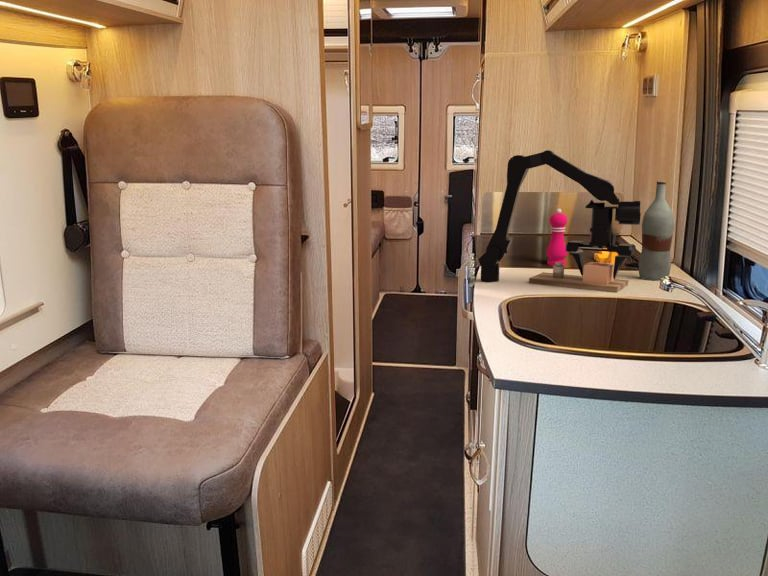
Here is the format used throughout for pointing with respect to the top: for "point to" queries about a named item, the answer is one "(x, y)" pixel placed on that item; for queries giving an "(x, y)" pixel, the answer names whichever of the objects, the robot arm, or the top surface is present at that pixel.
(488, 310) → the top surface
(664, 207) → the bottle
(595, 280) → the collar
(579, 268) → the robot arm
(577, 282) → the collar board
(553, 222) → the pepper mill
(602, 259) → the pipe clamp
